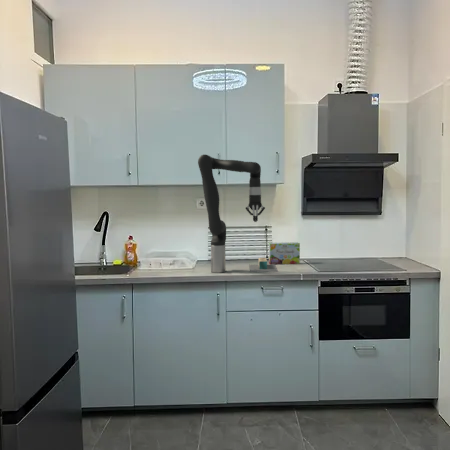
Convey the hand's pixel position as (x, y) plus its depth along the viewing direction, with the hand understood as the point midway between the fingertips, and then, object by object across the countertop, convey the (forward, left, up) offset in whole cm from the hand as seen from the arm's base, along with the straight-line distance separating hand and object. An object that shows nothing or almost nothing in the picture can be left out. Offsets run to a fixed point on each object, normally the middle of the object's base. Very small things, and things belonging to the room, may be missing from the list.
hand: (255, 221), depth 270 cm
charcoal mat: (+5, +11, -32) cm, 34 cm away
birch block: (+5, +7, -29) cm, 30 cm away
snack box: (+21, +32, -32) cm, 50 cm away
